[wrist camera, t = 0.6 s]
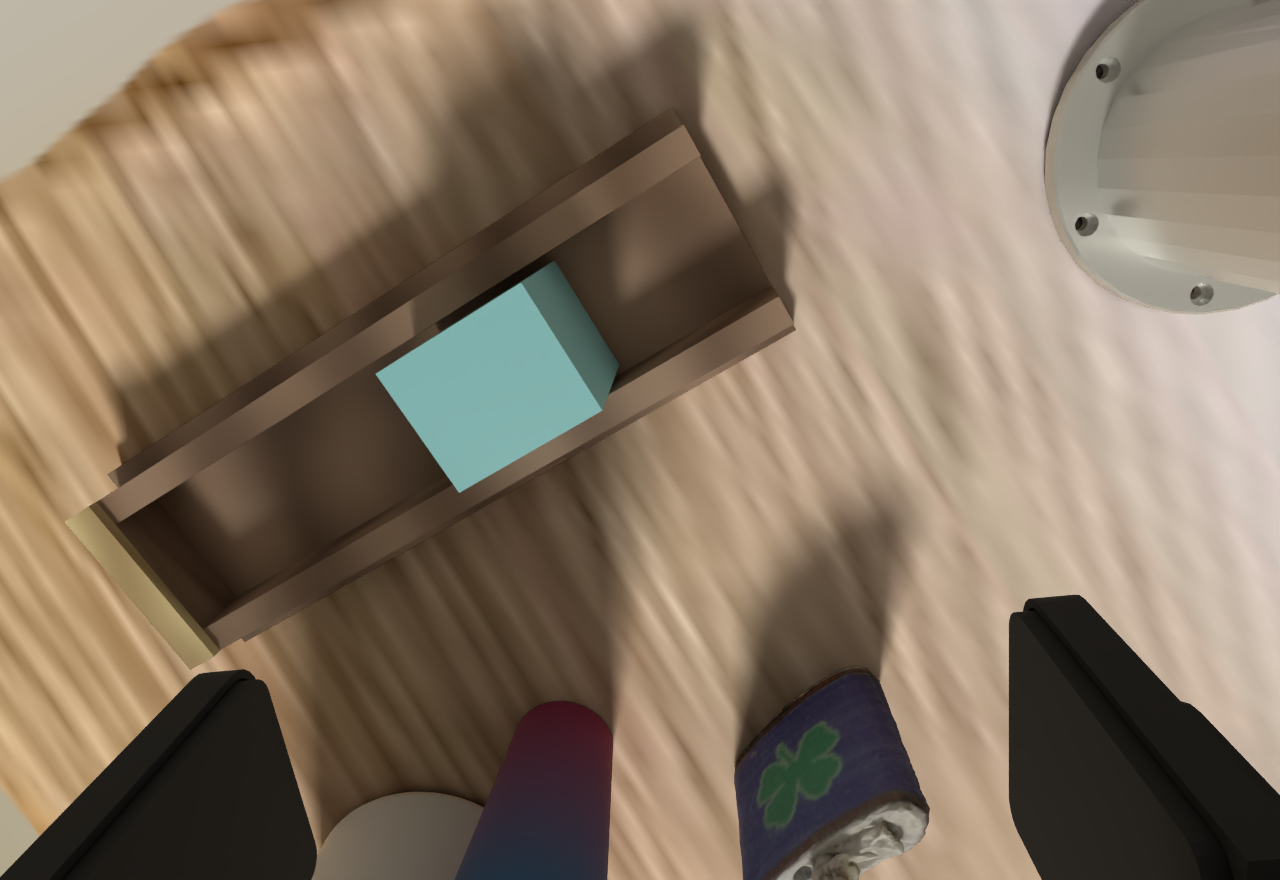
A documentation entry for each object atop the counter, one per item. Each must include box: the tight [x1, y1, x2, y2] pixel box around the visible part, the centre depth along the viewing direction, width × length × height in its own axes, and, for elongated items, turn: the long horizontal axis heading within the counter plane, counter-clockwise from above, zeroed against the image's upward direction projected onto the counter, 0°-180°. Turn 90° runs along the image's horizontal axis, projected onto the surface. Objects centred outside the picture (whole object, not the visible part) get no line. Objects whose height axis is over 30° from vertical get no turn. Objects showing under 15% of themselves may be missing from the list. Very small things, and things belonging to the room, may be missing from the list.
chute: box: [65, 107, 796, 670], centre depth 35 cm, size 30×10×4 cm, turn 121°
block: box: [376, 260, 619, 493], centre depth 32 cm, size 6×5×7 cm
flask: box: [734, 666, 930, 880], centre depth 36 cm, size 9×3×11 cm, turn 138°
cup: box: [455, 701, 613, 880], centre depth 35 cm, size 7×7×15 cm
